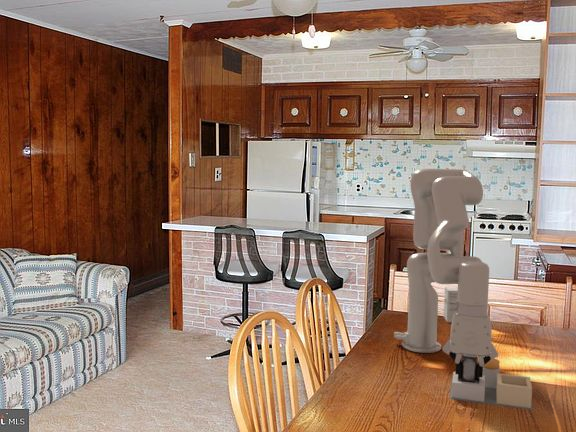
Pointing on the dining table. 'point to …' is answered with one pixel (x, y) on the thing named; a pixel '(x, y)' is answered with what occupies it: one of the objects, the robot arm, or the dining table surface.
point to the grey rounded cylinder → (469, 368)
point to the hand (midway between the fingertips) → (468, 377)
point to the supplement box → (448, 299)
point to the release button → (492, 364)
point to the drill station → (494, 389)
